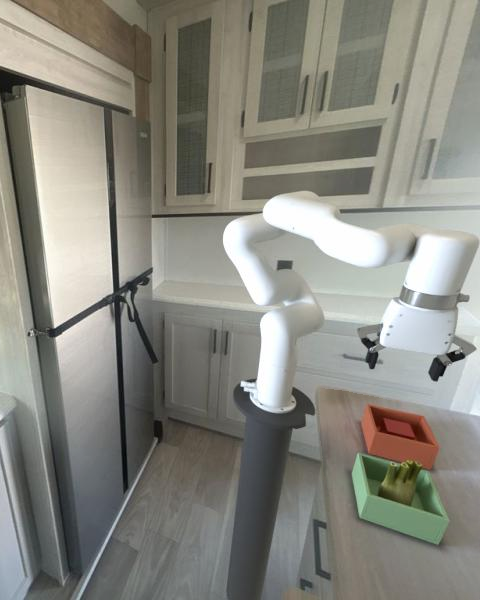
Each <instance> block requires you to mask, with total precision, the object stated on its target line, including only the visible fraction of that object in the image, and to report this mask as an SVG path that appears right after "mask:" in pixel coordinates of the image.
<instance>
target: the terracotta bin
mask: <svg viewBox="0 0 480 600" xmlns="http://www.w3.org/2000/svg"><path fill="white" fill-rule="evenodd" d="M383 418H386V419H391V420H395V421H400V422H404V423H409V424H410V426H411V429H412V431H413V434H414V436H415V439H414V440H410V439H406V438H402V437H398V436H393V435H389V434H385V433H381V432H379V430H380V426H381V423H382V420H383ZM428 423H429V422H428V421H427V419H426V417H425V415H421V414H416V413H411V412H406V411H403V410H397V409H393V408H387V407H383V406H379V405H373V404H369V403H366V405H365V409H364V412H363V415H362V419H361V423H360V425H361V429H362V433H363V437H364V442H365V446H366V449H367V453H368V454H369V455H373V456H378V457H379V458H384V459H388V460H391V461H394V462H398V463H399V462H400V463H402V462H405V463H406V460H411V461H413V462H414V461H416V462H420V463H421V464H423V467H422V469H426V470H430V471H432V467H433V466H434V463H435V461H436V459H437V456H438V454H439V451H440V446H439V443H438V442H437V440H436V438H435V436H434V433H433V432H432V429H431V427H430V425H429V424H428Z"/></svg>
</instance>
